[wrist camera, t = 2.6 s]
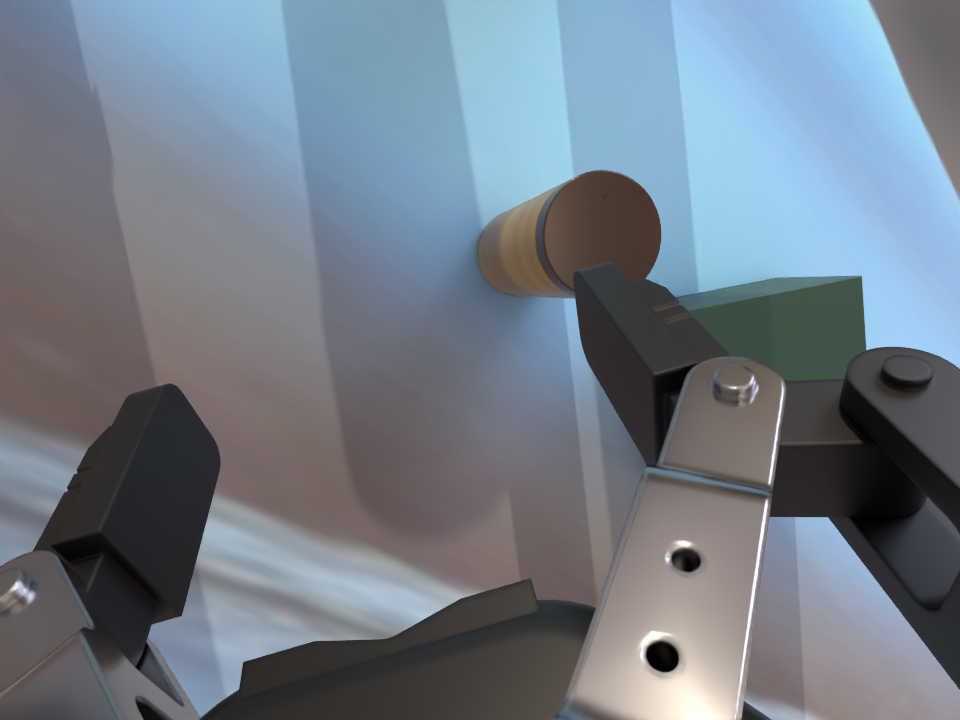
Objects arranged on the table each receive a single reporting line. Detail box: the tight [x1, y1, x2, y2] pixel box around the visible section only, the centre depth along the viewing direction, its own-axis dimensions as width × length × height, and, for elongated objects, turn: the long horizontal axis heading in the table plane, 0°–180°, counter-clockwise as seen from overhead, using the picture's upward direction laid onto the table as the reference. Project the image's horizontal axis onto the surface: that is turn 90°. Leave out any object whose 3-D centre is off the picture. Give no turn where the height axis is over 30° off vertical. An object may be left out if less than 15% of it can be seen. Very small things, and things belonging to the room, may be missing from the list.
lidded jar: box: [478, 170, 661, 298], centre depth 26 cm, size 5×5×11 cm
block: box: [676, 276, 866, 381], centre depth 32 cm, size 10×10×6 cm
